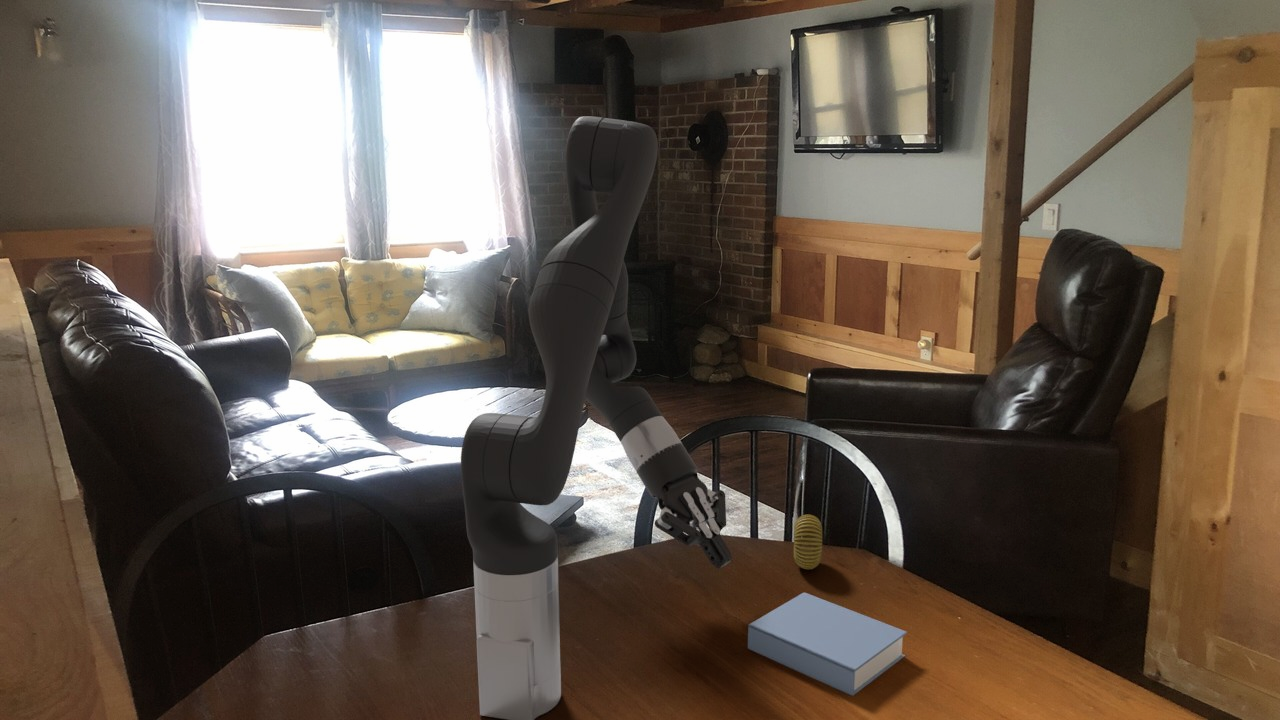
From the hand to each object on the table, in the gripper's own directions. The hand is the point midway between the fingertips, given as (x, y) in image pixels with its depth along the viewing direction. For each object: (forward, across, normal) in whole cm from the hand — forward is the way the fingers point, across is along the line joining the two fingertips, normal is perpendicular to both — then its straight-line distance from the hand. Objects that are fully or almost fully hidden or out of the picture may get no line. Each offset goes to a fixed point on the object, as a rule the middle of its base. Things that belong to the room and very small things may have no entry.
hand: (725, 564), depth 128 cm
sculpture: (+5, +18, +4) cm, 20 cm away
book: (+10, 0, -3) cm, 10 cm away
